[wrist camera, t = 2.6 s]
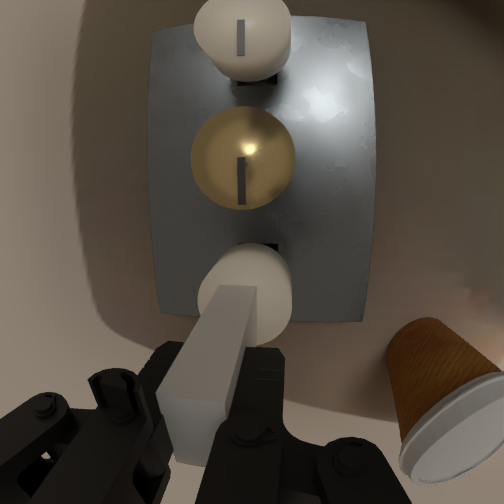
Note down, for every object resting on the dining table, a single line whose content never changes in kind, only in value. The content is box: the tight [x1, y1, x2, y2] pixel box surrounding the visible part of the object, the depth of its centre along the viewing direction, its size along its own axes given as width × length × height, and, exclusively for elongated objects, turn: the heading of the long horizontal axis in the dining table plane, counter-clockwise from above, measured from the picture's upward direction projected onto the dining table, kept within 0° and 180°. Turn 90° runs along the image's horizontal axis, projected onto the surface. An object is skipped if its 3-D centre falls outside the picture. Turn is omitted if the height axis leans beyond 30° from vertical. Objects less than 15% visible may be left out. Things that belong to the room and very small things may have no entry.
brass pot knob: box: [190, 106, 296, 210], centre depth 13 cm, size 4×4×6 cm
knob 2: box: [198, 243, 292, 345], centre depth 15 cm, size 4×4×6 cm
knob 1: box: [194, 0, 291, 82], centre depth 12 cm, size 4×4×6 cm
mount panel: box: [147, 16, 376, 322], centre depth 18 cm, size 20×14×3 cm
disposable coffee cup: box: [386, 318, 504, 486], centre depth 16 cm, size 10×10×12 cm
